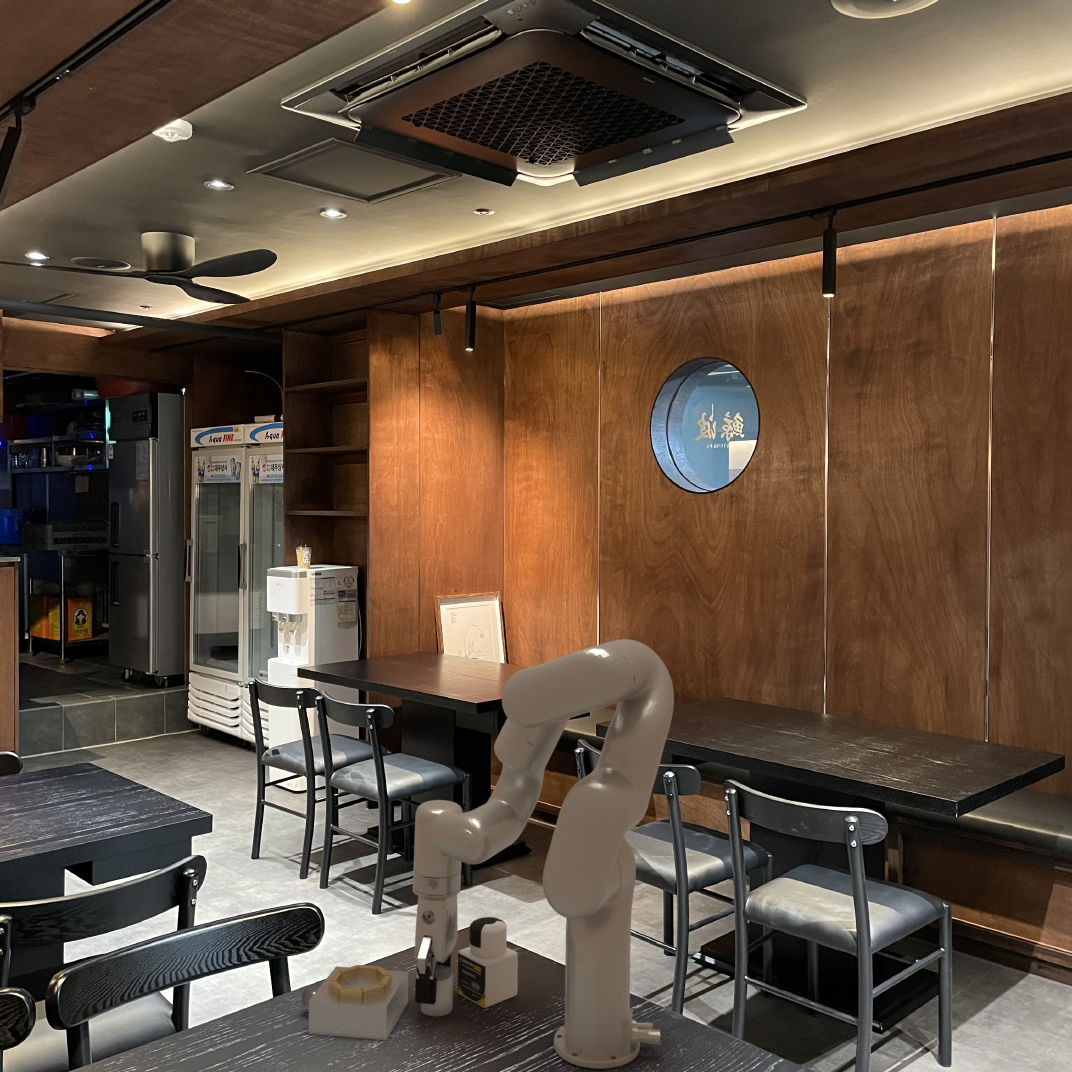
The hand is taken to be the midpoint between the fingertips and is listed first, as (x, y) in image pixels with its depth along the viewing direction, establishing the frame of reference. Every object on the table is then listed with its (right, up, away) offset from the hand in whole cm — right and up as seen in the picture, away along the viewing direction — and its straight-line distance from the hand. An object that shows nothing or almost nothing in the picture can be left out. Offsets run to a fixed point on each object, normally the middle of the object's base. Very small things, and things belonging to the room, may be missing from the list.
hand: (433, 988), depth 159 cm
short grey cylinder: (+1, -3, 0) cm, 3 cm away
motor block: (-12, -3, -4) cm, 13 cm away
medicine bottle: (+8, -3, +5) cm, 10 cm away
